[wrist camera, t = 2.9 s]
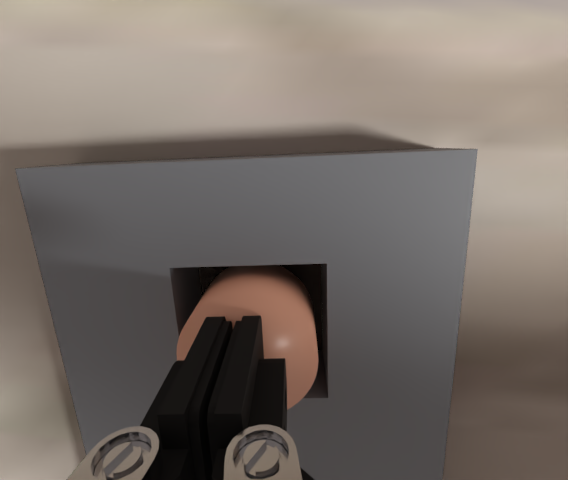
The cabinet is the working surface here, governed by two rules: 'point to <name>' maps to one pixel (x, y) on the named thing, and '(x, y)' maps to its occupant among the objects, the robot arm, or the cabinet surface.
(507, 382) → the cabinet surface
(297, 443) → the button panel
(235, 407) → the robot arm
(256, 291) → the terracotta button
